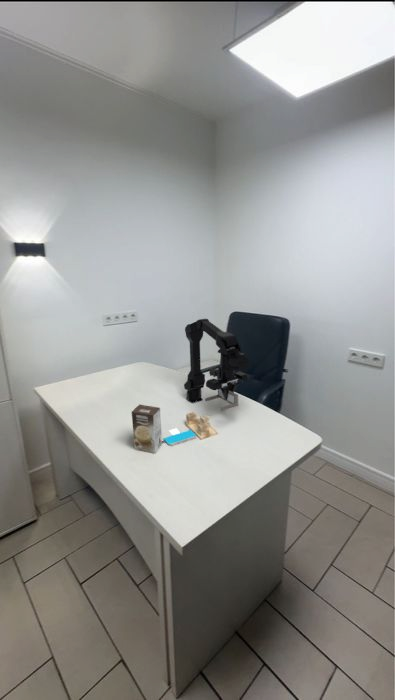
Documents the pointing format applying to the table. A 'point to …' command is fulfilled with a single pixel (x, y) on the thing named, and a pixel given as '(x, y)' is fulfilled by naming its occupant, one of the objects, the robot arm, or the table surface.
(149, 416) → the coffee box
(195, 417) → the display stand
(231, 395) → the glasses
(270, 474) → the table surface
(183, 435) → the blue flat piece
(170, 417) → the table surface
